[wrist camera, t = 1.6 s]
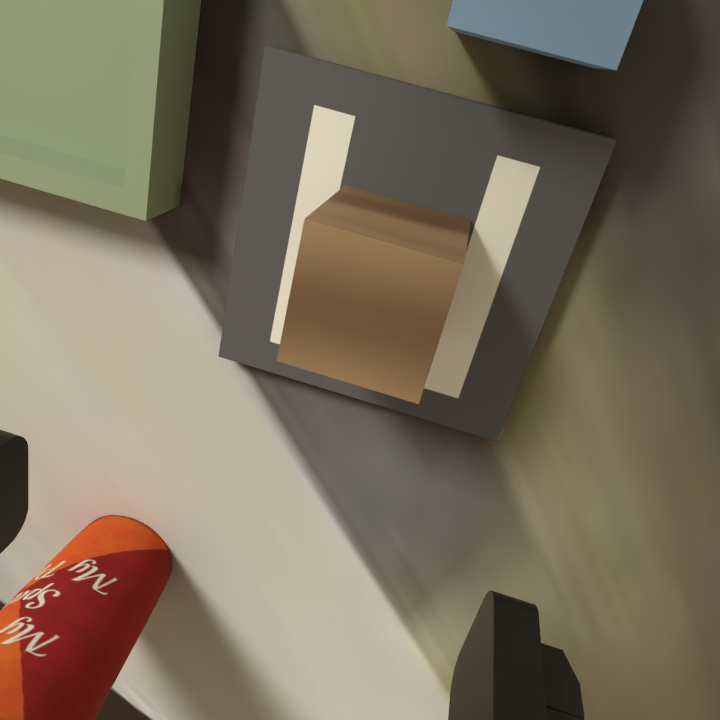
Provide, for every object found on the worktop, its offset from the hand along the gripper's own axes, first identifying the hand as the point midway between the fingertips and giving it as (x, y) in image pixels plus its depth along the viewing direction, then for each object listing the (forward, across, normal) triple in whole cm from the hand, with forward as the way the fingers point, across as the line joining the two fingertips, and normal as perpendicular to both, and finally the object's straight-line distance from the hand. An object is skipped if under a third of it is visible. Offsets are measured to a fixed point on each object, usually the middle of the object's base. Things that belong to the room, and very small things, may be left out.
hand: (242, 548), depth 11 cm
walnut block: (+17, 0, 0) cm, 17 cm away
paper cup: (+18, +10, +21) cm, 30 cm away
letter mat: (+18, 0, 0) cm, 18 cm away
